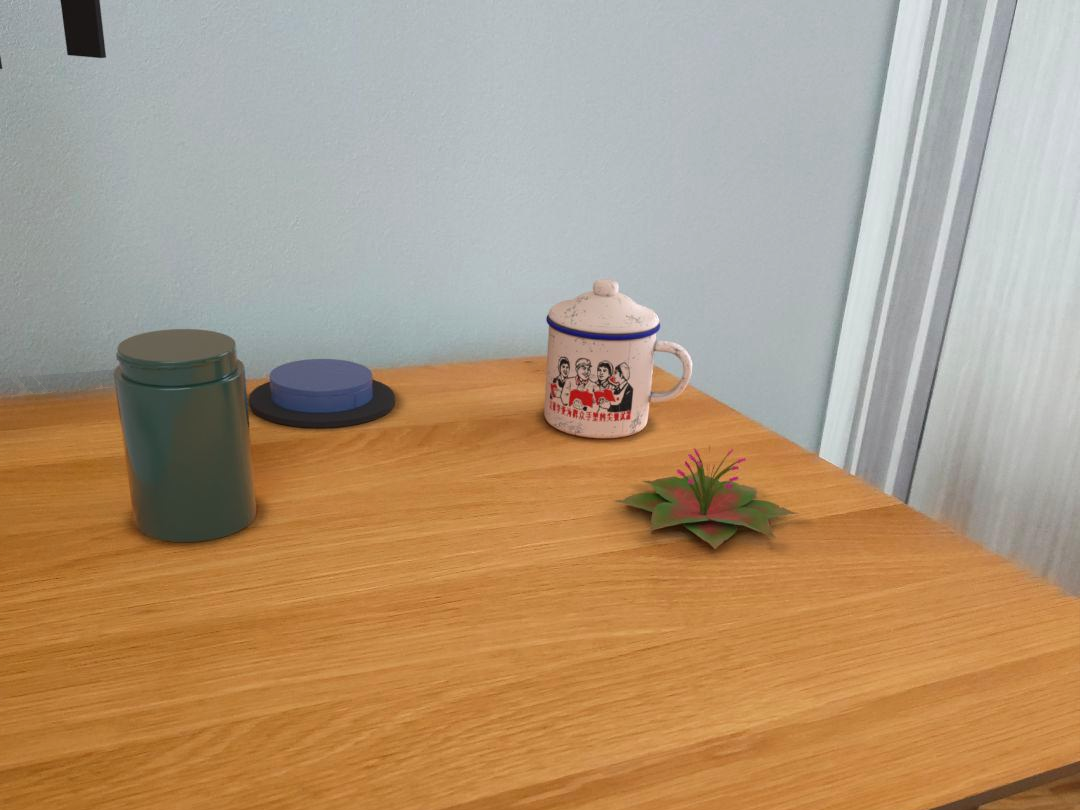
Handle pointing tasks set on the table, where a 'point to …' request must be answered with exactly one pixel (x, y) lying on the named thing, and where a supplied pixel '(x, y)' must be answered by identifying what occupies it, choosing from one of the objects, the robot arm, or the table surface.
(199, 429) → the jar
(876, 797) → the table surface
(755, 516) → the lily flower
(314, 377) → the jar lid
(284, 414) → the coaster
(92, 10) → the robot arm
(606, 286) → the teacup with lid
